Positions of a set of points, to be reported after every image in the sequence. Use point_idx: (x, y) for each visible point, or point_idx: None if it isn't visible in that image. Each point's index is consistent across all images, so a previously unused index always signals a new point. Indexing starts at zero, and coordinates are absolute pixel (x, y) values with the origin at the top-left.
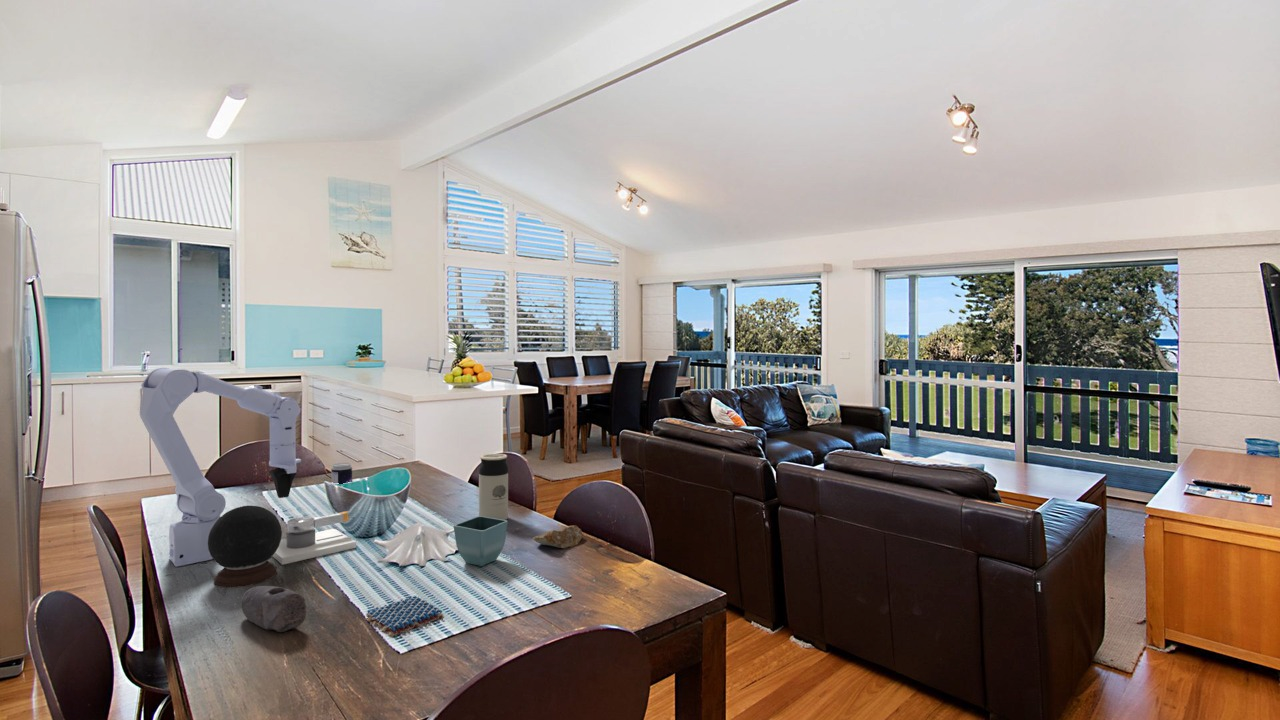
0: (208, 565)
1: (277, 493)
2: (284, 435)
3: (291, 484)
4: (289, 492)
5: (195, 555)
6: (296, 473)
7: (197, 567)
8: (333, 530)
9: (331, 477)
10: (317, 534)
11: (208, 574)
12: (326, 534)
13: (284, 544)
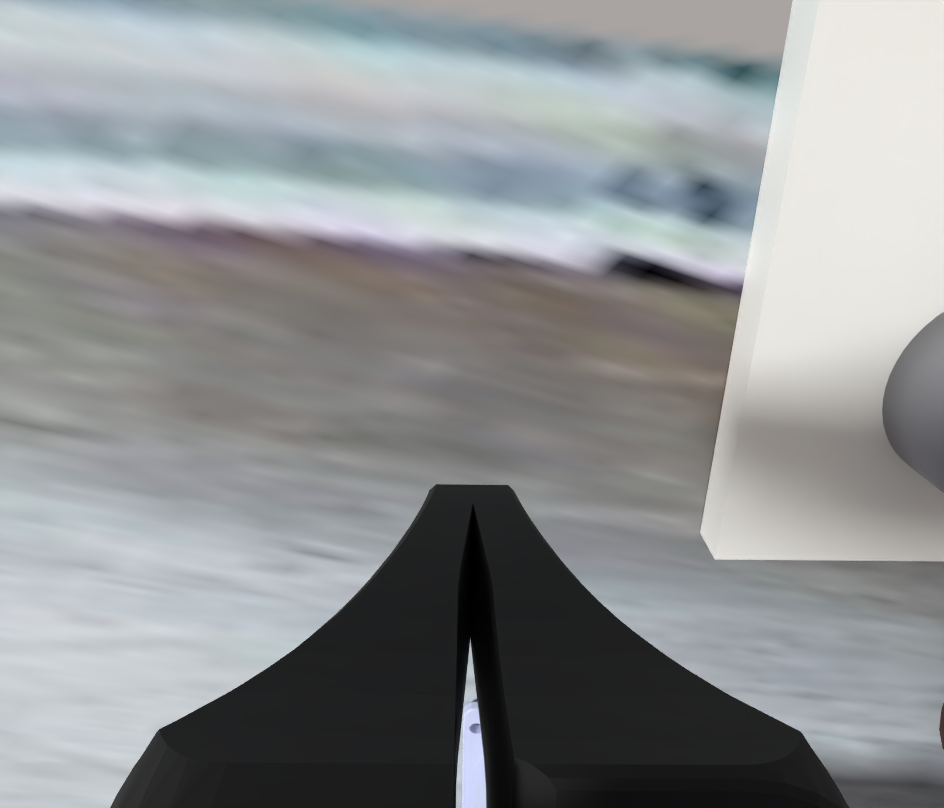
0: None
1: (469, 642)
2: None
3: (571, 575)
4: (522, 507)
5: None
6: (772, 718)
7: None
8: (878, 19)
9: None
10: (863, 196)
11: (874, 793)
12: (938, 131)
13: (877, 474)
